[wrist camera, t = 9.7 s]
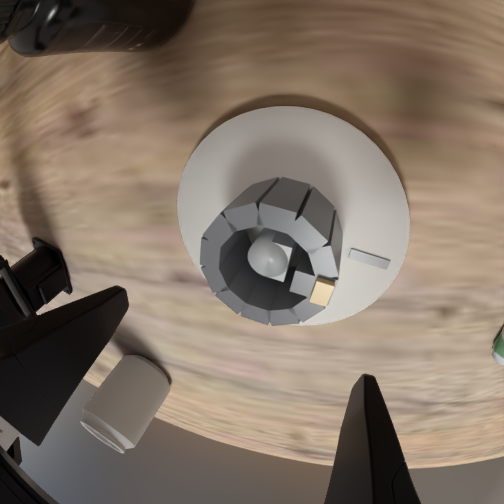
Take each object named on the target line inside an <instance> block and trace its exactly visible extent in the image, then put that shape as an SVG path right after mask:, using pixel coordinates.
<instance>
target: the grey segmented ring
mask: <svg viewBox="0 0 504 504" xmlns="http://www.w3.org/2000/svg"><path fill="white" fill-rule="evenodd" d="M309 188H310V184H308V183H304V182H300V181H297V180H293V179H289V178H285V177H282V178H281V179H279V177H276V178H273V179H269V180H265V181H262V182H258V183H255V184H253V185H251V186H249V187H248V188H247V189H246V190H245V191H244V192H243V193H242V194H240V195H239V196H238V197H237V198H236V199H235V200H234V201H233V202H232V203H230V204H229V205H228V206H227V207H226V208H225V209H224V210H223V211H222V212H221V213H220V214H219V215H218V216H217V217H216V218H215V220H214V221H213V222H212V223H211V225H210V226H209V227H208V228H207V230H206V231H205V232H204V233H203V237H202V238H201V249H200V265H203V266H202V267H201V270H202V272H203V274H204V276H205V278H206V280H207V282H208V284H209V286H210V288H211V290H212V292H217V294H216V295H215V296H216V297H218V298H219V299H220V300H221V301H222V302H223V303H225V304H226V305H227V306H228V307H229V308H231V309H232V310H233V311H234V312H235V313H237V314H238V313H239V312H240V311H241V316H242V317H245V318H248V319H251V320H254V321H257V322H260V323H263V324H266V325H268V324H269V321H270V323H271V325H272V326H275V325H290V324H300V321H302V322H305V321H306V320H308V319H310V318H311V317H313V316H314V315H316V314H318V313H319V312H321V311H322V310H324V309H325V308H326V306H328V304H329V302H330V300H331V297H332V295H333V292H334V290H335V287H336V285H337V283H338V279H339V271H340V262H341V252H342V242H343V233H342V229H341V225H340V221H339V218H338V214H337V210H334V205H333V204H332V203H331V202H330V201H329V200H328V199H327V198H325V197H324V196H323V195H322V194H321V193H320V192H319V191H318V190H317V189H316V188H315V187H313V188H312V189H311V190H310V191H309ZM256 226H263V227H266V228H270V229H273V230H276V231H280V232H283V233H287V234H288V235H289V236H290V237H292V238H293V239H294V240H295V241H296V242H297V243H298V244H299V245H300V246H301V247H302V248H303V251H302V253H301V256H300V259H299V262H298V265H297V266H294V267H289V269H288V272H287V275H286V277H285V280H284V282H282V281H279V280H275V279H272V278H269V277H266V276H263V275H261V274H259V273H257V272H256V271H255V270H254V269H253V268H252V267H251V265H250V263H249V261H248V251H249V249H250V247H251V246H252V244H251V242H250V239H249V237H248V234H247V229H248V228H252V227H256Z"/></svg>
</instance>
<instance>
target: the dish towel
mask: <svg viewBox="0 0 504 504" xmlns="http://www.w3.org/2000/svg"><path fill="white" fill-rule="evenodd" d="M492 357H493V359H494V360H495V361H496V362H497V363H498V364H501V365H504V327H503V329H502V332H501V333H500V335H499V336H498V338H497V339H496V341H495V342H494V345H493V352H492Z"/></svg>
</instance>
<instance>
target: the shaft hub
mask: <svg viewBox="0 0 504 504" xmlns="http://www.w3.org/2000/svg"><path fill="white" fill-rule="evenodd" d="M276 177H279V179H281V178H282V177H285V178H289V179H293V180H297V181H300V182H304V183H308V184H310V188H309V191H310V190H311V189H312V188H313V187H315V188H316V189H317V190H318V191H319V192H320V193H321V194H322V195H323V196H324V197H325V198H327V199H328V200H329V201H330V202H331V203H332V204H333V205H334V210H337V214H338V218H339V221H340V225H341V229H342V233H343V242H342V252H341V262H340V271H339V279H338V283H337V285H336V287H335V290H334V292H333V295H332V297H331V300H330V302H329V304H328V306H326V308H325V309H324V310H322V311H321V312H319V313H318V314H316V315H314V316H313V317H311V318H310V319H308V320H306V321H305V322H302V321H300V324H290V325H302V326H304V325H320V324H326V323H331V322H335V321H339V320H342V319H344V318H347V317H349V316H352V315H354V314H356V313H358V312H360V311H361V310H363V309H365V308H366V307H368V306H369V305H370V304H372V303H373V302H374V301H376V300H377V299H378V298H379V297H380V296H381V295H382V294H383V293H384V292H385V291H386V290H387V288H388V287H389V286H390V285H391V283H392V282H393V281H394V279H395V277H396V275H397V274H398V272H399V270H400V268H401V266H402V263H403V261H404V258H405V256H406V252H407V247H408V243H409V233H410V218H409V208H408V204H407V200H406V195H405V192H404V189H403V187H402V184H401V182H400V179H399V177H398V175H397V173H396V172H395V170H394V168H393V167H392V165H391V163H390V162H389V160H388V159H387V157H386V156H385V155H384V153H383V152H382V151H381V150H380V149H379V147H378V146H377V145H376V144H375V143H374V142H373V141H372V140H371V139H370V138H369V137H367V136H366V135H365V134H364V133H363V132H362V131H360V130H359V129H357V128H356V127H354V126H353V125H351V124H350V123H348V122H347V121H344V120H342V119H340V118H338V117H336V116H334V115H332V114H329V113H326V112H323V111H319V110H316V109H311V108H305V107H298V106H274V107H267V108H261V109H256V110H253V111H249V112H246V113H243V114H240V115H238V116H236V117H234V118H232V119H230V120H228V121H226V122H224V123H223V124H221V125H220V126H219V127H217V128H216V129H214V130H213V131H212V132H211V133H210V134H209V135H208V136H207V137H206V138H204V139H203V140H202V142H201V143H200V144H199V145H198V147H197V148H196V149H195V151H194V152H193V153H192V155H191V157H190V159H189V161H188V162H187V164H186V167H185V169H184V172H183V174H182V177H181V181H180V186H179V190H178V200H177V210H178V221H179V227H180V231H181V235H182V238H183V242H184V244H185V246H186V249H187V251H188V253H189V255H190V257H191V259H192V261H193V262H194V264H195V266H196V267H197V269H198V270H199V271H200V273H201V274H202V276H203V277H204V278H205V276H204V274H203V272H202V270H201V267H202V266H203V265H200V249H201V238H202V237H203V233H204V232H205V231H206V230H207V228H208V227H209V226H210V225H211V223H212V222H213V221H214V220H215V218H216V217H217V216H218V215H219V214H220V213H221V212H222V211H223V210H224V209H225V208H226V207H227V206H228V205H229V204H230V203H232V202H233V201H234V200H235V199H236V198H237V197H238V196H239V195H240V194H242V193H243V192H244V191H245V190H246V189H247V188H248V187H249V186H251V185H253V184H255V183H258V182H262V181H265V180H269V179H273V178H276ZM247 234H248V237H249V239H250V242H251V244H252V246H251V247H250V249H249V251H248V261H249V263H250V265H251V267H252V268H253V269H254V270H255V271H256V272H257V273H259V274H261V275H263V276H266V277H269V278H272V279H275V280H279V281H282V282H284V280H285V277H286V275H287V272H288V269H289V267H294V266H297V265H298V262H299V259H300V256H301V253H302V251H303V248H302V247H301V246H300V245H299V244H298V243H297V242H296V241H295V240H294V239H293V238H292V237H290V236H289V235H288V234H287V233H283V232H280V231H276V230H273V229H270V228H266V227H263V226H256V227H252V228H248V229H247ZM205 279H206V278H205Z"/></svg>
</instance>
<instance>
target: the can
mask: <svg viewBox="0 0 504 504" xmlns="http://www.w3.org/2000/svg"><path fill="white" fill-rule="evenodd" d="M169 392H170V386H169V383H168V379H167V376H166V375H165V373H164V372H163V371H162V370H161V369H160V368H159V367H158V366H157V365H155V364H154V363H153V362H151V361H150V360H148V359H146V358H144V357H142V356H139V355H125V356H124V357H123V358H122V359H121V360H120V361H119V363H118V364H117V365H116V366H115V368H114V369H113V370H112V371H111V373H110V374H109V375H108V377H107V378H106V379H105V380H104V382H103V383H102V384H101V385H100V387H99V388H98V389H97V391H96V392H95V393H94V395H93V396H92V397H91V399H90V400H89V401H88V402H87V404H86V405H85V406H84V408H83V409H82V413H83V420H81V421H80V423H81V424H82V425H83V426H84V427H85V428H86V429H87V430H88V431H89V432H91V433H92V434H93V435H94V436H96V437H97V438H99V439H100V440H101V441H103V442H104V443H105V444H107V445H108V446H110V447H112V448H113V449H115V450H117V451H119V452H121V453H125V452H124V450H125V449H128V448H133V447H135V445H136V444H137V442H138V441H139V439H140V438H141V436H142V435H143V433H144V431H145V430H146V428H147V427H148V425H149V423H150V422H151V420H152V419H153V417H154V416H155V414H156V412H157V411H158V409H159V408H160V406H161V404H162V403H163V401H164V400H165V398H166V396H167V395H168V393H169Z"/></svg>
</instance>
